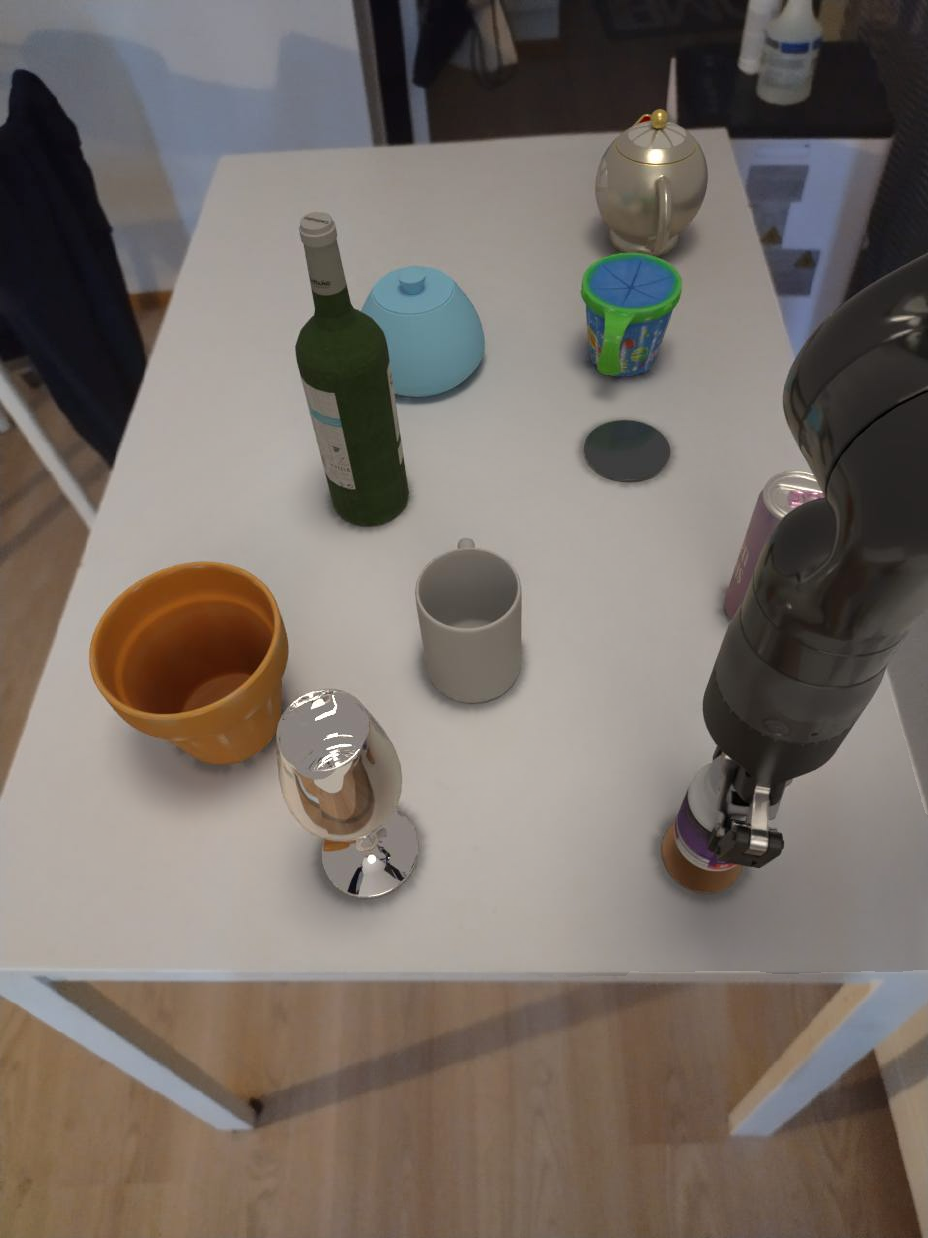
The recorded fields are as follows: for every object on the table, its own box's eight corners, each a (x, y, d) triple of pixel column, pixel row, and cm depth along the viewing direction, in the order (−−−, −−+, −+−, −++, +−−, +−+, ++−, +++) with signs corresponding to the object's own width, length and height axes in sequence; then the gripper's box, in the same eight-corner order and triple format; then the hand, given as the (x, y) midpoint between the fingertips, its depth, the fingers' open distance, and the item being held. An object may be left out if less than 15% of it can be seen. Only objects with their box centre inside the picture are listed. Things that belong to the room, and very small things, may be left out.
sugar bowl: (386, 314, 106) (374, 225, 97) (502, 334, 103) (500, 244, 93) (337, 391, 98) (317, 302, 89) (460, 416, 95) (453, 326, 86)
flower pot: (230, 625, 80) (186, 533, 69) (346, 698, 75) (318, 611, 64) (115, 739, 74) (47, 657, 63) (234, 827, 68) (182, 754, 58)
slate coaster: (672, 426, 92) (673, 424, 92) (666, 486, 87) (666, 484, 87) (589, 417, 94) (589, 415, 94) (578, 476, 89) (578, 474, 89)
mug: (525, 701, 74) (527, 628, 65) (426, 707, 74) (414, 635, 65) (514, 590, 81) (514, 510, 72) (424, 596, 81) (412, 517, 72)
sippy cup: (642, 413, 94) (654, 334, 85) (553, 388, 97) (556, 309, 89) (688, 331, 102) (703, 251, 93) (604, 310, 105) (611, 231, 96)
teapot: (584, 214, 117) (593, 84, 104) (685, 207, 117) (706, 76, 103) (601, 293, 107) (613, 159, 93) (711, 286, 106) (739, 151, 93)
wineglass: (309, 893, 65) (240, 782, 49) (332, 797, 69) (275, 666, 53) (411, 906, 64) (374, 797, 48) (427, 808, 69) (399, 678, 52)
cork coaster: (743, 824, 66) (744, 823, 66) (740, 900, 63) (741, 899, 63) (664, 810, 67) (665, 809, 67) (658, 885, 64) (658, 883, 64)
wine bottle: (424, 488, 89) (389, 208, 64) (378, 538, 85) (323, 262, 61) (363, 461, 92) (308, 182, 67) (317, 508, 88) (241, 232, 64)
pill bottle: (719, 889, 60) (750, 837, 52) (657, 838, 62) (678, 781, 54) (763, 835, 62) (800, 778, 54) (702, 787, 64) (728, 726, 57)
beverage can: (792, 641, 76) (845, 528, 64) (723, 634, 77) (762, 521, 64) (788, 587, 79) (838, 471, 67) (722, 581, 80) (759, 465, 68)
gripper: (876, 818, 39) (783, 924, 53) (861, 575, 47) (783, 722, 61) (710, 790, 41) (660, 900, 54) (722, 558, 49) (676, 705, 62)
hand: (726, 805), depth 58 cm, fingers closed on pill bottle, 5 cm apart
